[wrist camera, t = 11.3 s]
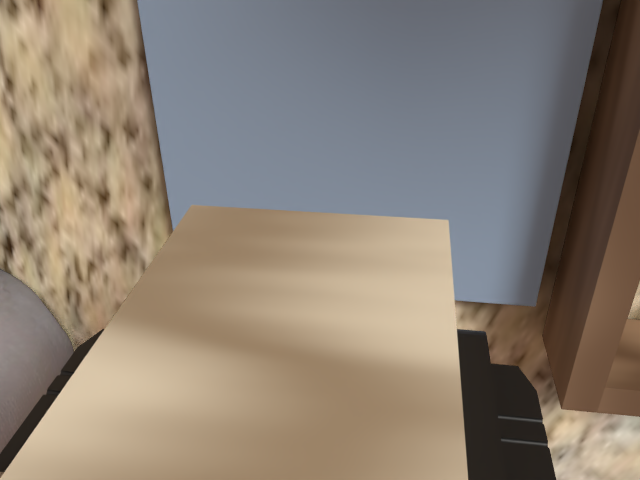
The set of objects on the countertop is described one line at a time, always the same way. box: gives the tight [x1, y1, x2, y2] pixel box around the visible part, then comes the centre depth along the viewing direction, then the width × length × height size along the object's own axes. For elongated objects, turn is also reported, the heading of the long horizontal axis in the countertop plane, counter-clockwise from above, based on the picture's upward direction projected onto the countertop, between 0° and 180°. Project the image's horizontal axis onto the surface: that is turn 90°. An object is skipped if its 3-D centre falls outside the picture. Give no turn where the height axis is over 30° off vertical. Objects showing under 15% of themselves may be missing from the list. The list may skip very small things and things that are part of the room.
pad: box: [137, 0, 603, 306], centre depth 21 cm, size 14×14×1 cm
